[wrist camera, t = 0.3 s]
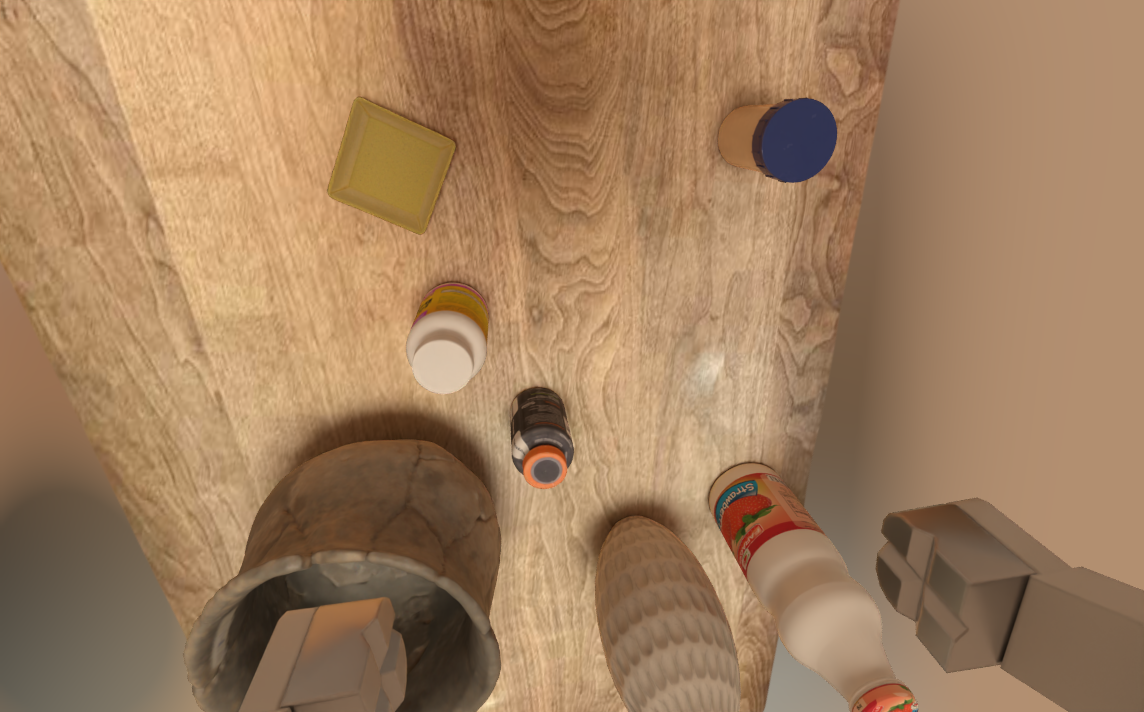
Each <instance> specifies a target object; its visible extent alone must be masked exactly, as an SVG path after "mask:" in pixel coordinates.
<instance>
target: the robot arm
mask: <svg viewBox="0 0 1144 712" xmlns="http://www.w3.org/2000/svg"><path fill="white" fill-rule="evenodd" d="M881 533H882V534H883V535H884V537H885V538H886V539H887V540H888V542H887V543H886V544H885V545H884V546H883V547H882V549H881V550H880V551H879V552H878V553H877V562H876V572H877V576H878V580H879V584H880V587H881V589H882V591H883V592H884V594H885V596H886V598H887V600H888V601H889V602H890V603H891V605H892V606H893V607H894V609H895V610H896V611H897V612H899V613H900V614H902V615H904V616H906V617H908V618H909V619H911V620H913V621H915V623H916V636H917V637H918V639H919V640H920V641H921V642H922V643H923V645H924V646H925V647H926V648H927V650H928V651H929V652H930V653H931V655H932V656H933V657H934V658H935V659H936V661H937V662H938V663H939V665H941V667H942V668H943V669H944V671H945V672H946V673H951V672H957V671H963V670H970V669H976V668H983V667H989V666H996V665H1001V669H1003V670H1004V671H1006V672H1007V673H1009V674H1011V675H1012V676H1014V677H1015V678H1017V679H1019V680H1020V681H1022V682H1023V683H1025V684H1026V685H1028V686H1029V687H1031V688H1032V689H1034V690H1036V691H1037V692H1039V693H1040V694H1042V695H1043V696H1045V697H1046V698H1048V699H1050V700H1051V701H1053V702H1055V703H1056V704H1057V705H1059V706H1061V707H1062V708H1064V709H1065V710H1067V711H1068V712H1144V591H1143V590H1141V589H1138V588H1135V587H1133V586H1130V585H1128V584H1125V583H1123V582H1120V581H1117V580H1115V579H1112V578H1110V577H1107V576H1104V575H1102V574H1099V573H1097V572H1094V571H1091V570H1089V569H1086V568H1084V567H1077V568H1071V567H1070V566H1069V565H1068V564H1066V563H1065V562H1064V561H1062V560H1061V559H1060V558H1059V557H1057V556H1056V555H1055V554H1054V553H1052V552H1051V551H1050V550H1048V549H1047V548H1046V547H1045V546H1043V545H1042V544H1041V543H1040V542H1038V541H1037V540H1036V539H1034V538H1033V537H1032V536H1031V535H1029V534H1028V533H1027V532H1025V531H1024V530H1023V529H1022V528H1020V527H1019V526H1018V525H1017V524H1015V523H1014V522H1013V521H1012V520H1010V519H1009V518H1008V517H1007V516H1005V515H1004V514H1003V513H1001V512H1000V511H999V510H998V509H996V508H995V507H994V506H993V505H991V504H990V503H989V502H986V501H984V500H981V499H979V498H972V499H966V500H961V501H955V502H949V503H946V504H939V505H933V506H927V507H922V508H916V509H910V510H905V511H900V512H893V513H889V514H888V515H887V516H886V518H885V519H884V520H883V525H882V530H881ZM394 616H395V612H394V609H393V607H392V604H391V601H390V598H387V597H380V598H373V599H366V600H359V601H352V602H344V603H337V604H330V605H323V606H320V607H314V608H307V609H299V610H292V611H287V612H286V613H285V614H284V615H283V616H282V617H281V618H280V619H279V620H278V622H277V625H276V627H275V629H274V631H273V634H272V636H271V638H270V641H269V643H268V645H267V648H266V650H265V652H264V654H263V657H262V659H261V661H260V664H259V666H258V668H257V671H256V673H255V675H254V677H253V680H252V682H251V684H250V687H249V689H248V691H247V693H246V696H245V698H244V700H243V703H242V705H241V707H240V710H239V712H395V711H396V710H397V708H398V707H399V706H400V704H401V703H402V702H403V701H404V697H405V690H406V683H407V658H406V651H405V645H404V641H403V638H402V634H400V633H399V632H397V631H396V630H394V629H393V628H392V627H393V621H394Z"/></svg>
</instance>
